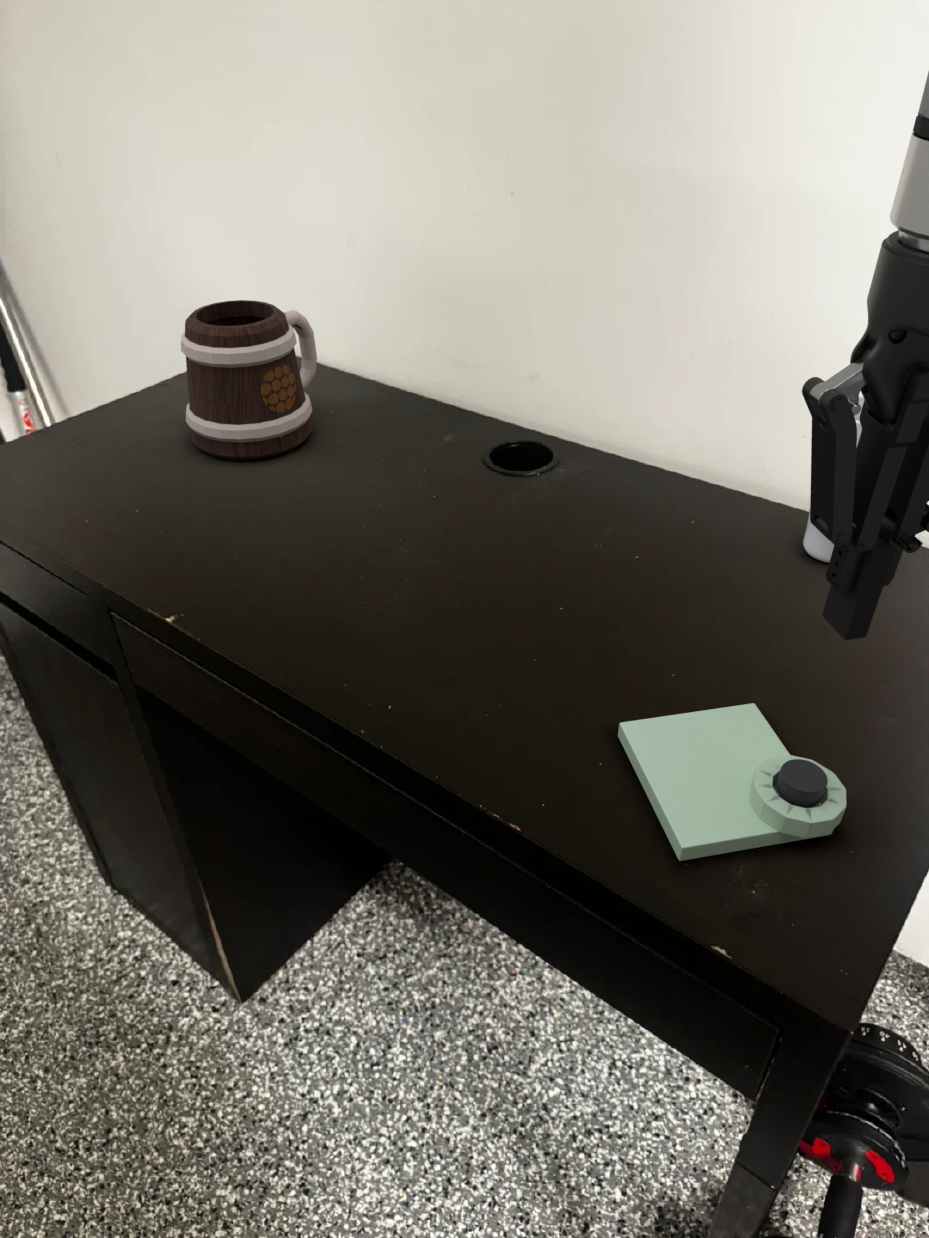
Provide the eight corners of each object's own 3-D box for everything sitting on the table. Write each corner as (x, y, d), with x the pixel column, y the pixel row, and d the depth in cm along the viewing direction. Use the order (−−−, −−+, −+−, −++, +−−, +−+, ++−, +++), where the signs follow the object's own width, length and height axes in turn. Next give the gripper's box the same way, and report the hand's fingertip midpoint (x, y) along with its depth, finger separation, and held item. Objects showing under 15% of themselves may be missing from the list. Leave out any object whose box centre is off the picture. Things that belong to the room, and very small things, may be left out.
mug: (255, 475, 101) (235, 345, 92) (163, 443, 108) (136, 319, 99) (364, 415, 115) (355, 296, 106) (276, 390, 121) (261, 276, 112)
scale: (852, 843, 60) (864, 813, 58) (684, 873, 58) (691, 843, 56) (762, 714, 70) (770, 685, 68) (617, 735, 68) (621, 706, 66)
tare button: (830, 804, 59) (836, 788, 58) (789, 811, 58) (794, 795, 58) (808, 771, 61) (813, 755, 60) (767, 778, 61) (772, 762, 60)
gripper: (1027, 213, 47) (897, 581, 61) (805, 226, 45) (723, 606, 59) (1143, 250, 41) (970, 647, 56) (895, 267, 39) (780, 678, 53)
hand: (843, 625), depth 57 cm, fingers closed
